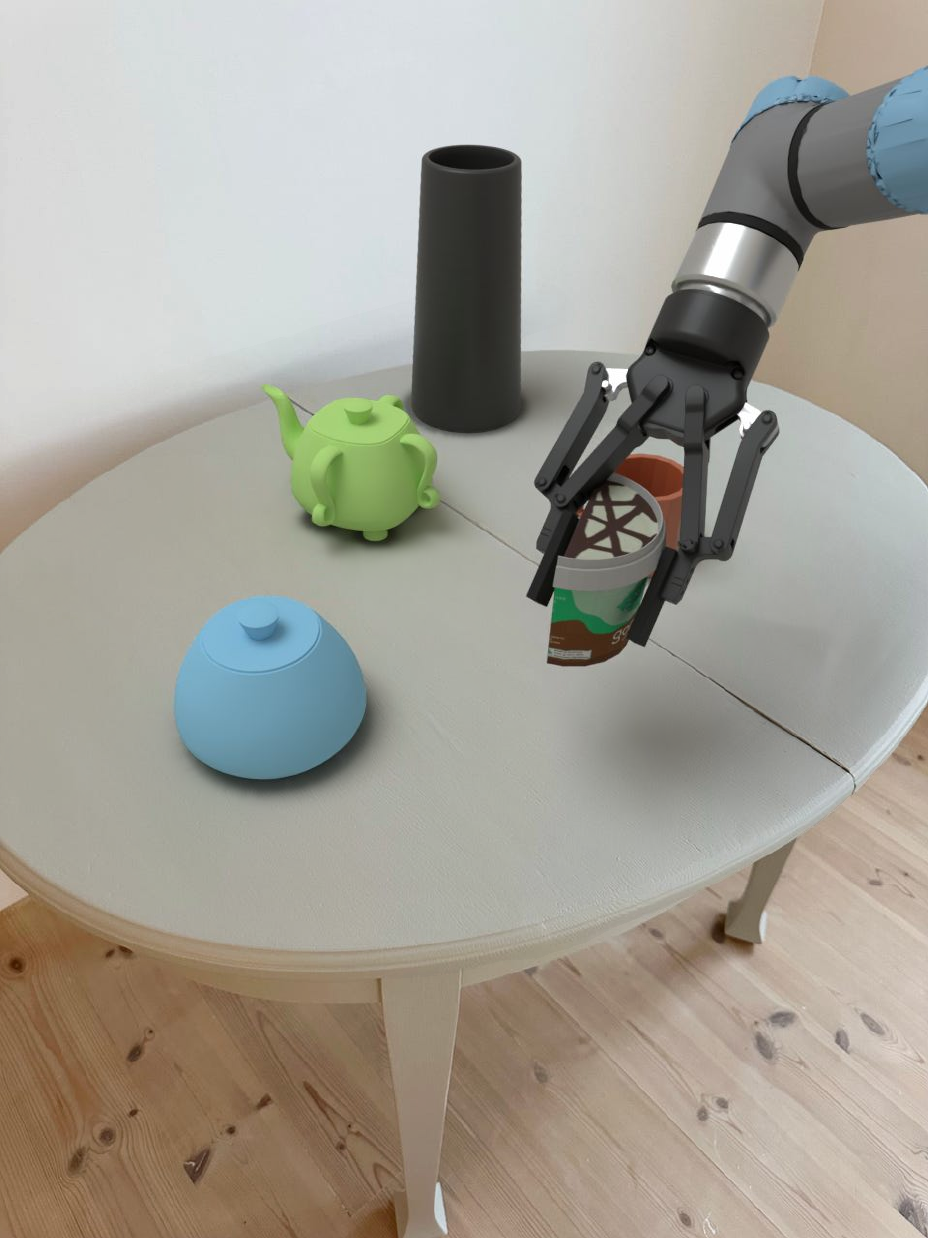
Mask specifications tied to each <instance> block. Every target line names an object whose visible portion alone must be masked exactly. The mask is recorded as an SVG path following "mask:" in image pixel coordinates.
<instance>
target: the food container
mask: <svg viewBox="0 0 928 1238" xmlns="http://www.w3.org/2000/svg"><path fill="white" fill-rule="evenodd" d="M665 546H666V527H665V520H664V518H663V515H662V511H661V508H660V506H659V504H658V502H657V501H656V499H655V498H654V497H653V496H652V495H651V494H650V493H649V492H648V491H647V490H646V489H645V488H643V487H642V486H641V485H639V484H637V483H636V482H634V481H632V480H631V479H629V478H626V477H624V476H622V475H620V474H617V473H614V472H613V473H612V475H611V476H610V477H609V478H608V479H607V480H606V481H605V482H604V483H603V484H602V486H600V487H598V488H597V489H595V490H594V491H593V492H592V494H591V496H590V498H589V500H588V501H587V502H586V505H585V506H584V511H583V512H582V514H581V516H580V518H579V521H578V524H577V527H576V529H575V532H574V534H573V536H572V539H571V541H570V543H569V546H568V548H567V550H566V553H565V555H564V557H562V556H558V561H557V566H556V570H555V576H554V582H553V587H555V588H554V592H553V599H552V607H551V618H550V628H549V638H548V647H547V656H546V664H548V665H553V666H558V667H563V668H564V667H566V668H567V667H568V668H569V667H572V668H573V667H574V668H575V667H578V668H580V667H581V668H583V667H589V666H593V665H598V664H603V663H605V662H607V661H610V660H611V659H613V658H615V657H617V656H618V655H619V654H620V653H621V652H622V651H623V650H624V649H625V648H626V646H627V645H628V644H629V642H630V640H629V639H627V638H626V636H627V634H628V631H629V629H630V627H631V625H632V622H633V620H634V618H635V615H636V613H637V611H638V608H639V606H640V604H641V602H642V599H643V597H644V594H645V590H646V586H647V583H648V580H649V578H648V576H649V575H650V574H651V573H652V572H653V571H655V570H656V568H657V565H658V562H659V560H660V558H661V556H662V553H663V551H664V549H665Z"/></svg>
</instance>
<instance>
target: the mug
mask: <svg viewBox="0 0 928 1238" xmlns="http://www.w3.org/2000/svg"><path fill="white" fill-rule="evenodd" d="M683 470H684V465H682V464H680V463H678V462H677V461H675V460H674V459H671V458H667V457H666V456H662V455H659V454H658V455H657V454H650V453H631V454H630V455H629V456H628V457H627V458H626V459H625V460H624V461H623V462H622V464H621V465H620V466H619V467H618V468H617V469H616V470H615V471H614V473H617V474H620V475H622V476H624V477H626V478H629V479H631V480H632V481H634V482H636V483H637V484H639V485H641V486H642V487H643V488H645V489H646V490H647V491H648V492H649V493H650V494H651V495H652V496H653V497H654V498H655V499H656V501H657V502H658V504H659V506H660V508H661V511H662V515H663V518H664V520H665V527H666V547H669V548H672V549H675V550H677V552H678V550H679V546H678V542H677V541H679V542H680V524H681V506H682V488H683ZM584 509H585V504H584V505H583V507H582V508H581V509H580V510H579V511H578V512H577V514H578V515H579V517H578V518H579V519H580V516H581V514H582V512H583V511H584ZM654 572H655V571H653V572H652V573H651V574H650V575H649V576H648V579H649V578H652V576H653V574H654Z"/></svg>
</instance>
